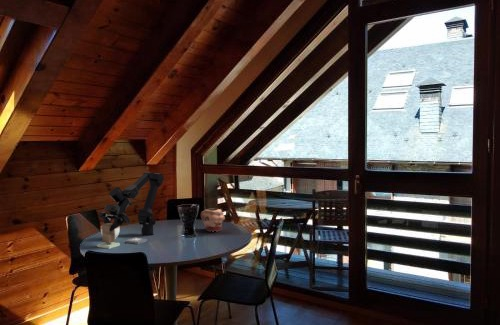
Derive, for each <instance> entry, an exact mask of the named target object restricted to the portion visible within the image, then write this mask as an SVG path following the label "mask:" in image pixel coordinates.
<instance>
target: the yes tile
mask: <svg viewBox="0 0 500 325" xmlns="http://www.w3.org/2000/svg"><path fill="white" fill-rule="evenodd" d="M119 246H121V244H120V242H116V241H115V242H112V243H103V242H102V243H98V244H96V247H98V248H103V249H109V250H110V249H113V248H116V247H119Z"/></svg>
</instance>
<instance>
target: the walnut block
mask: <svg viewBox="0 0 500 325" xmlns="http://www.w3.org/2000/svg"><path fill="white" fill-rule="evenodd" d="M112 224H113V222H112V223H105V224H103V223H101V226H102V234H101V236H102V238H101V239H102V240H101V241H102V243H112V242H115V243H116V239H115V229H114V230H112V231H109V230H110V228H111V226H112Z"/></svg>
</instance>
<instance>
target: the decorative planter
mask: <svg viewBox="0 0 500 325" xmlns="http://www.w3.org/2000/svg"><path fill="white" fill-rule="evenodd" d="M200 218H201V220H202V223H203V224H204V228H205V230H206V231H207V232H211V231H212V233H213V232H214V231H216V232H220V231H222V229H223V222H224V221H225V220H226V217H225V215H224V213H223V210H222V209H221V208H220V209H219V208H216V207H213V208H207V209H206V208H205V209H204V210H203V211H201V212H200ZM214 233H215V232H214Z"/></svg>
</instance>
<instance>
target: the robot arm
mask: <svg viewBox="0 0 500 325" xmlns="http://www.w3.org/2000/svg"><path fill="white" fill-rule="evenodd" d="M164 178H165V176H164V175H163V173H160V172H158V173H157V172H150V171H144V172H143V173H142V174H141V176H140V177H139V178H138V179H137V180H136V181H135V182H134V183H133V184H131V185H130V186H127V187H125V188H124V189H123V190H122V189H121V188H120V186H116V187H114V188H113V189H111V190H110V191H109V194H108V196H109V197H110V198H111V199H112V200H113V201H114V202H115V203H114V204H109V203H106V204H105V205H104V211H100V212H99V214H98V216H99V217H100V219H101V220H102V221H103V223H102V224H105V223H113V224H112V226H111V228H110V230H109V231H112V230H114V229H115V228H117V227H119V226H120V227H121V226H122V225H124V224H126V225H127V224H128V225H129V224H130V222H131V218H130V217H129V216H128V214H126V213H127V211H126V210H127V209H128V206H133V202H132V200H134V199H136V197H137V196H138V195H139V191H140V190H141V189H142V188H143V187H144V186H145V185H146V184H147V183H148V182H149V189H148V192H147V195H146V199H145V202H144V205H143V208H142V209H141V208H140V209H139V210H138V213H137V221H138V223H139V225H140V226H141V227H140V234H141V235H142V236H143V237H145V236H146V237H147V236H153V235H155V233H154V225H156V222H157V221H156V219H154V213H153V206H154V204H155V199H156V196H157V192H158V189H159V187H160V186H161V185H162V184H163V182H164ZM130 199H131V200H130ZM106 211H107V212H106ZM111 220H113V222H112V221H111Z"/></svg>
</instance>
